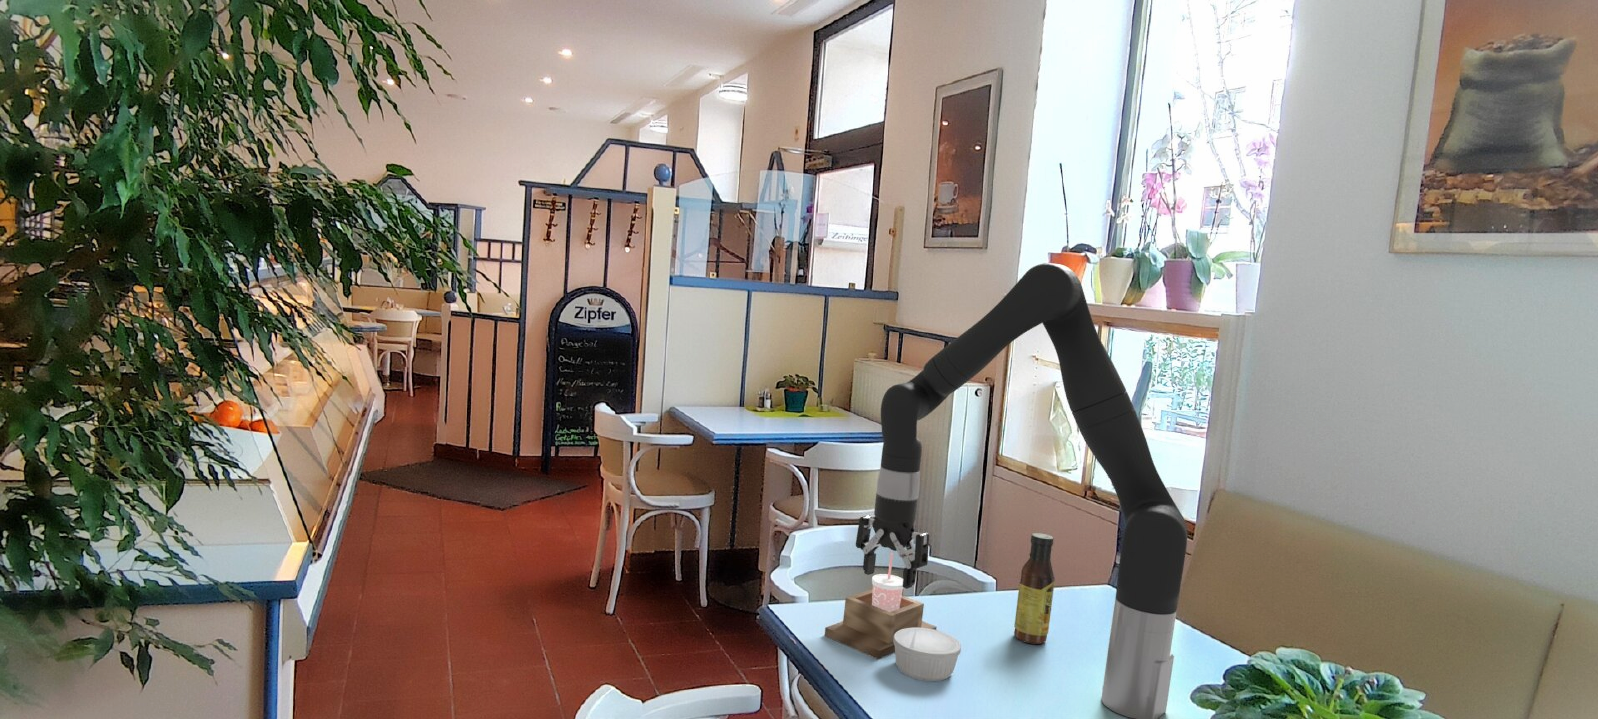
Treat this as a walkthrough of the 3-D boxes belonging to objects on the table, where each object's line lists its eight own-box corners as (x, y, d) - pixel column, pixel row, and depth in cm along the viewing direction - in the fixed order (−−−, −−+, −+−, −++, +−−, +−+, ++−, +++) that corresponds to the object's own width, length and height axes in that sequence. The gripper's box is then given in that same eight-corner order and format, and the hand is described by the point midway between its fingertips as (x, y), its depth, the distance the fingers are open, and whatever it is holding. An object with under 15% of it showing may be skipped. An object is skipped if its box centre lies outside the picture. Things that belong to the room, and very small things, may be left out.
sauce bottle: (1047, 648, 168) (1061, 543, 166) (1013, 642, 169) (1026, 538, 167) (1045, 634, 174) (1059, 534, 172) (1012, 629, 176) (1025, 529, 174)
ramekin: (879, 657, 157) (882, 627, 156) (936, 653, 161) (939, 624, 160) (909, 687, 146) (913, 656, 146) (969, 682, 150) (973, 652, 150)
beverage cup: (860, 621, 167) (868, 548, 166) (889, 619, 170) (897, 546, 168) (876, 635, 162) (885, 559, 160) (906, 632, 164) (915, 557, 163)
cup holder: (935, 634, 169) (939, 600, 168) (878, 659, 155) (882, 622, 155) (883, 613, 177) (887, 581, 176) (824, 635, 163) (828, 600, 163)
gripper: (942, 499, 162) (932, 588, 163) (877, 481, 171) (868, 565, 173) (918, 505, 156) (908, 596, 158) (853, 486, 165) (844, 573, 167)
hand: (887, 580), depth 165 cm, fingers open, 8 cm apart
